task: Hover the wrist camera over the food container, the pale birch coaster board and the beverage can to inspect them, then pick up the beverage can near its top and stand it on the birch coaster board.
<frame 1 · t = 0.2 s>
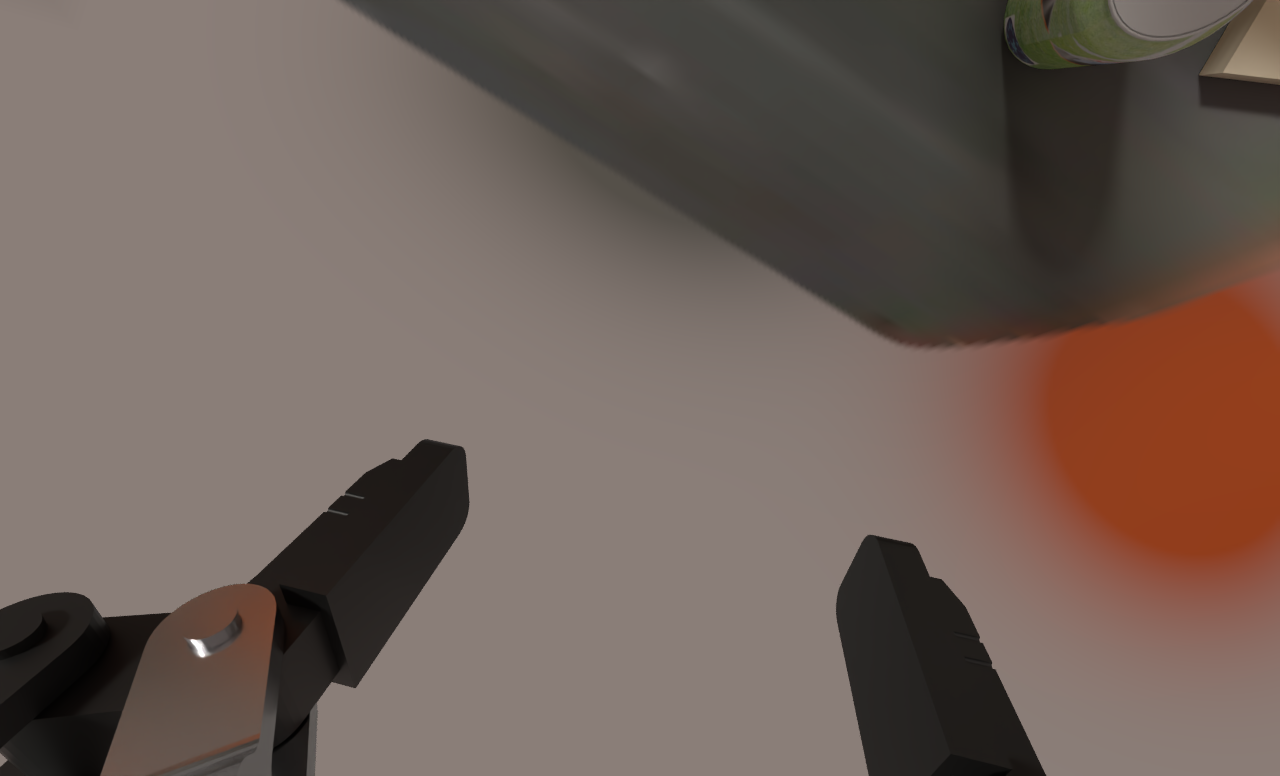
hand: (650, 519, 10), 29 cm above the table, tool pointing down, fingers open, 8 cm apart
beverage can: (1043, 11, 26), on the table
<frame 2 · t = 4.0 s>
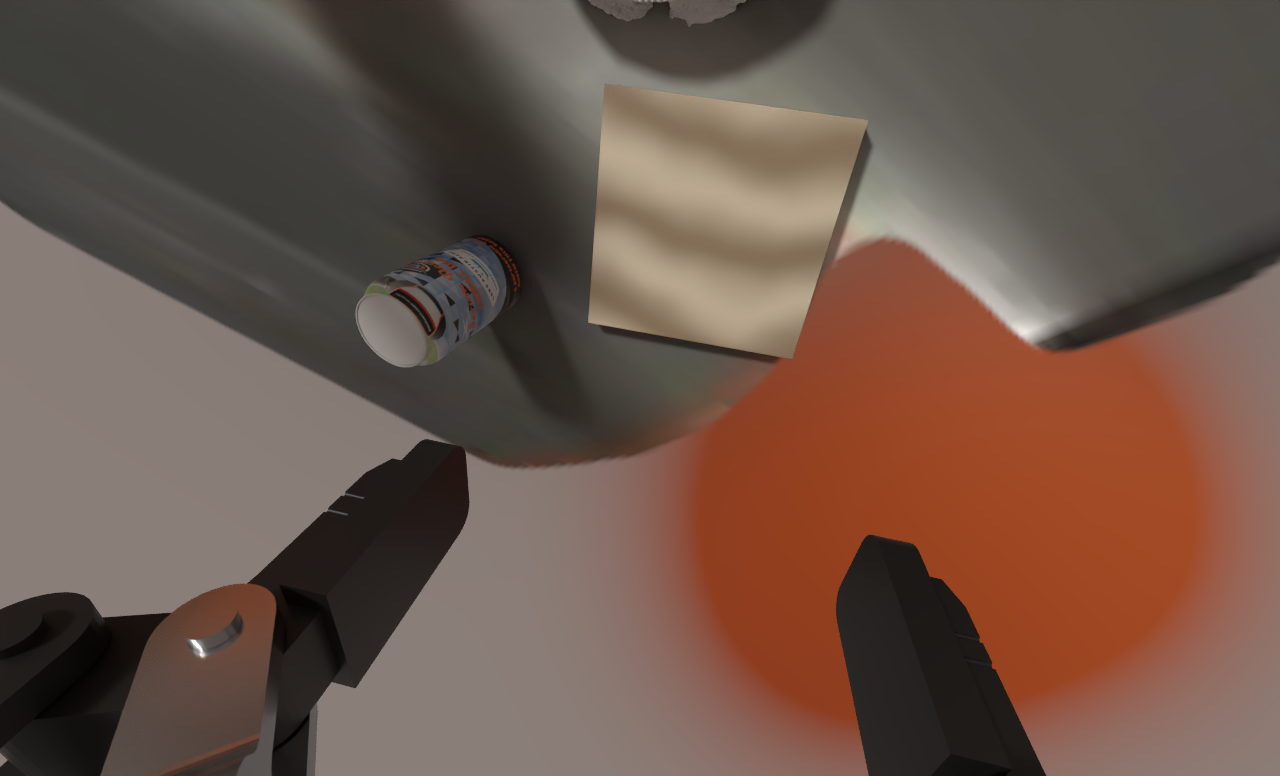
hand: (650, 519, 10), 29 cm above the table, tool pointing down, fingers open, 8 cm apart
coaster board: (709, 231, 34), on the table
beverage can: (487, 272, 39), on the table
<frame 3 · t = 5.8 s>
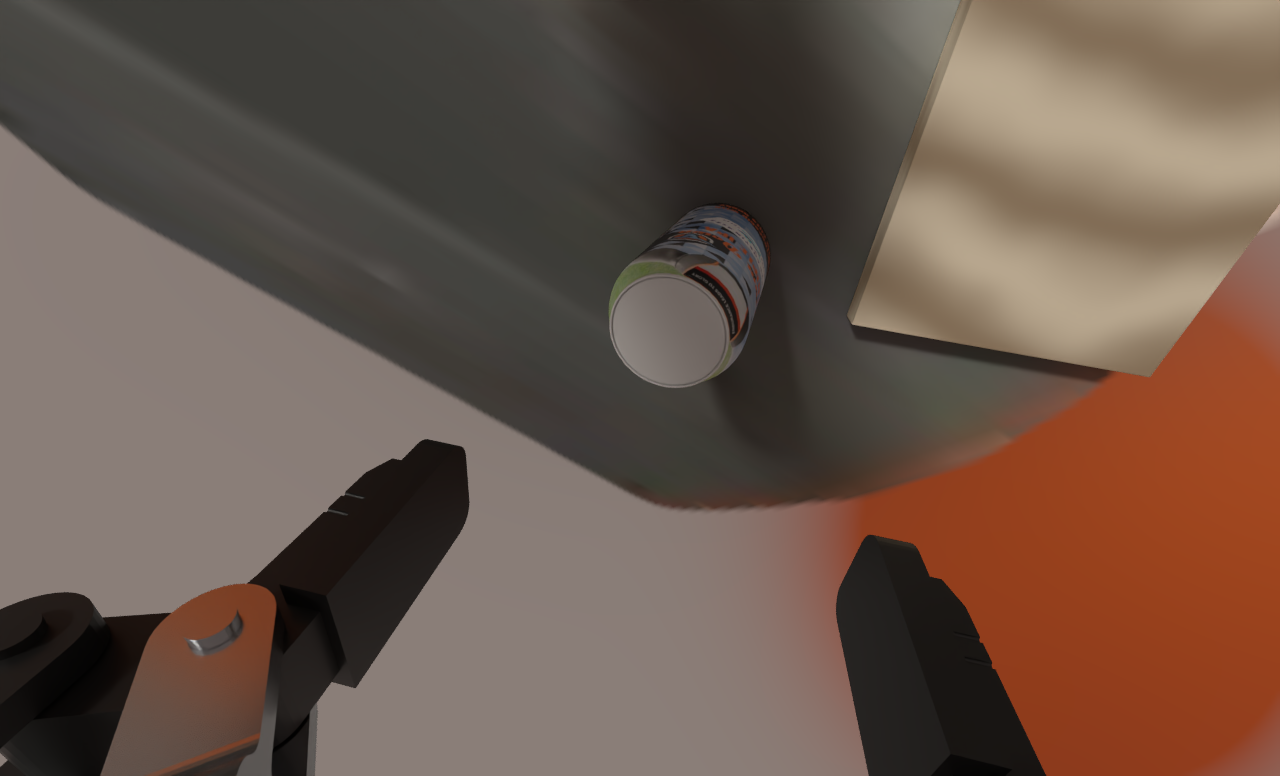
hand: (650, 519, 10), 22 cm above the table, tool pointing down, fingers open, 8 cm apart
coaster board: (1061, 195, 24), on the table
beverage can: (705, 256, 29), on the table
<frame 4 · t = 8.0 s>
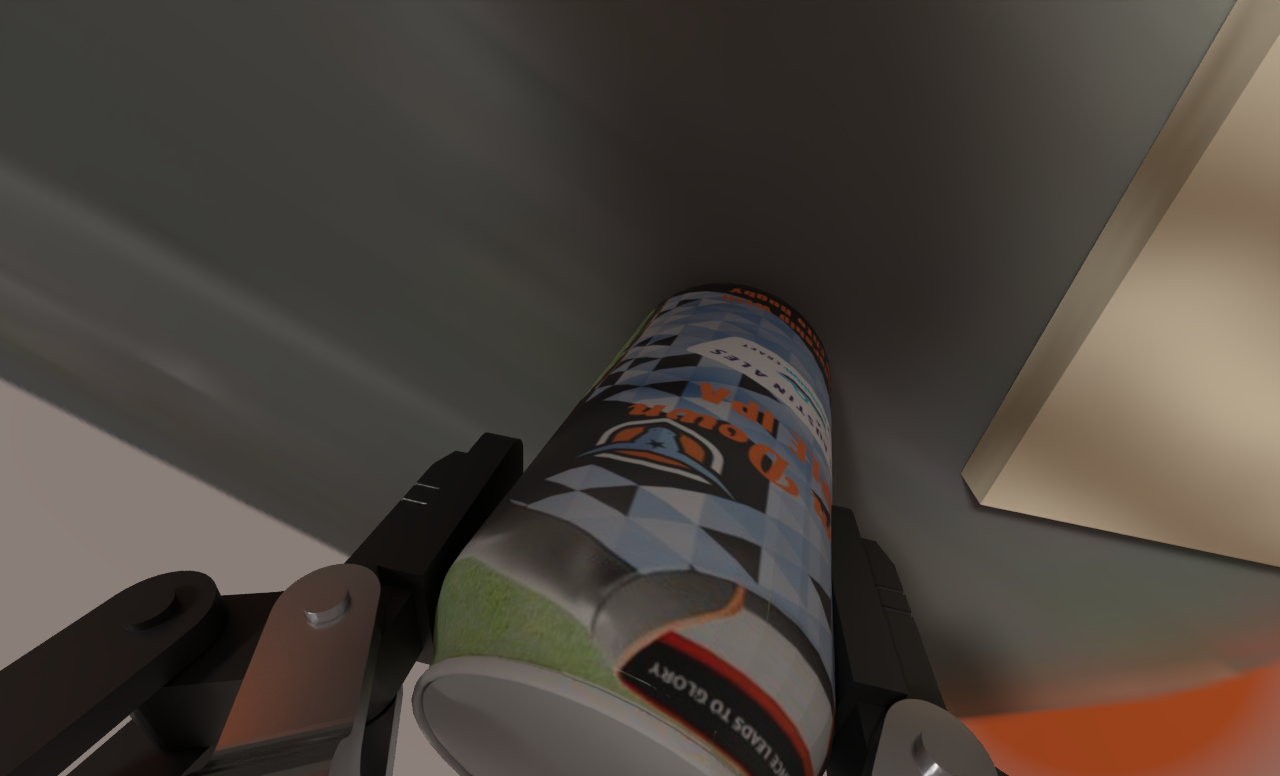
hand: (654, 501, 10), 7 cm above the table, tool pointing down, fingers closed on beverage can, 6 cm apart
beverage can: (703, 366, 16), on the table, touching gripper
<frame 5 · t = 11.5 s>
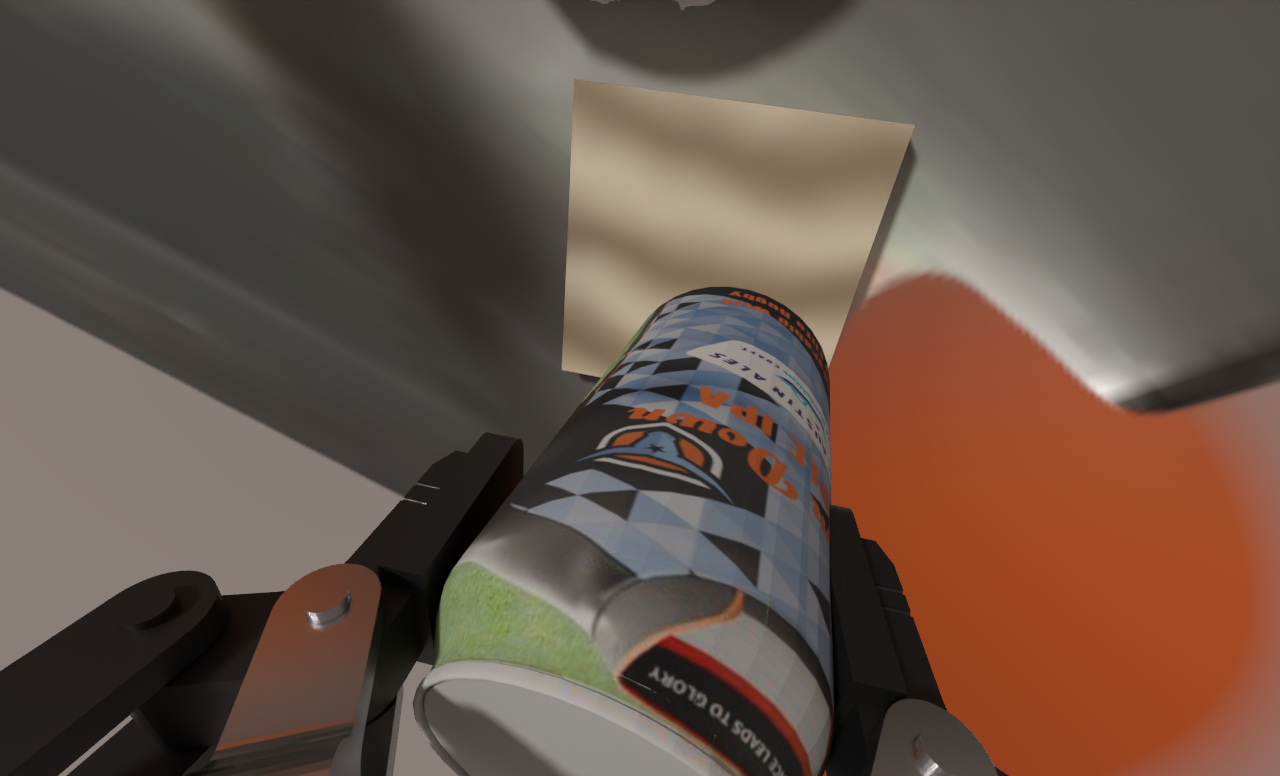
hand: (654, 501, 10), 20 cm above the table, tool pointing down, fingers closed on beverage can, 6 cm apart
coaster board: (708, 262, 28), on the table
beverage can: (703, 368, 16), point 14 cm above the table, touching gripper
when the fingers open (9 cm above the table, at t = 14.0 s): beverage can stays where it is, resting on coaster board.
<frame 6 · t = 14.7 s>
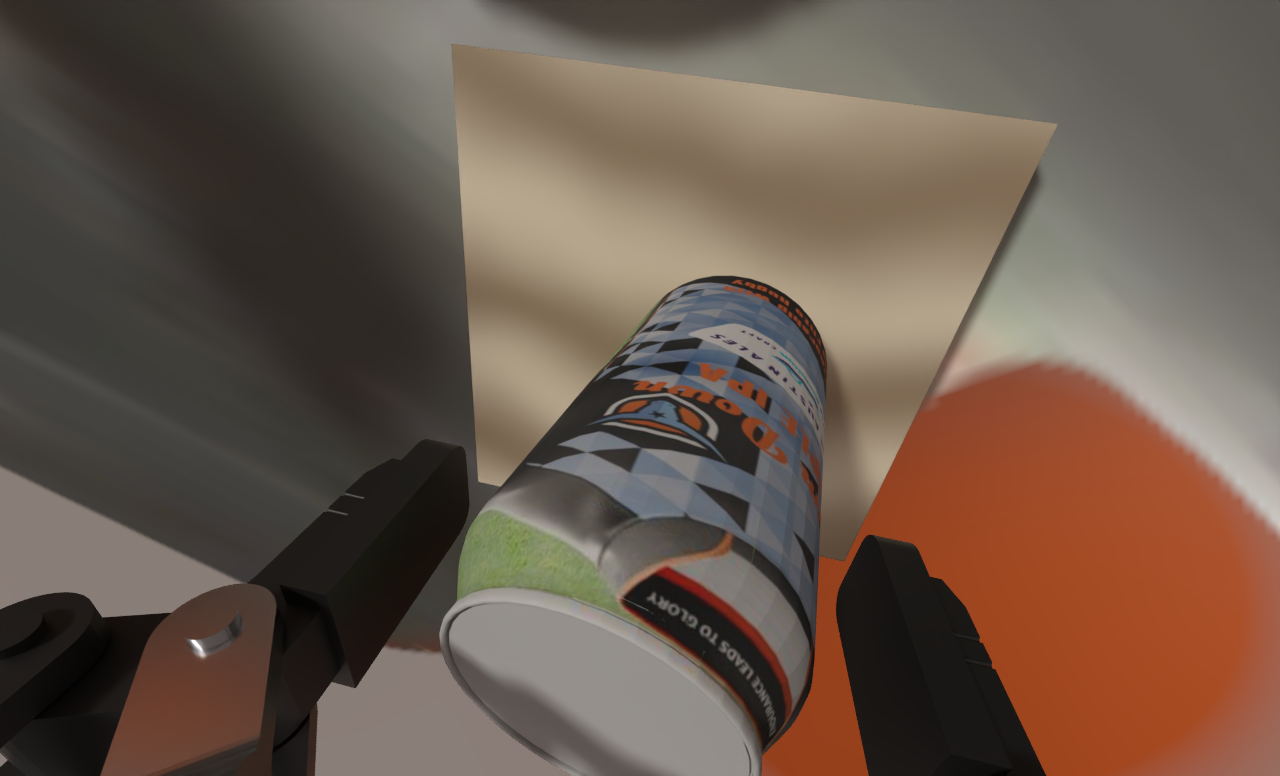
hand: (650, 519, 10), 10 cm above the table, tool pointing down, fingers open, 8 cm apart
coaster board: (689, 336, 18), on the table
beverage can: (707, 355, 17), point 1 cm above the table, touching coaster board
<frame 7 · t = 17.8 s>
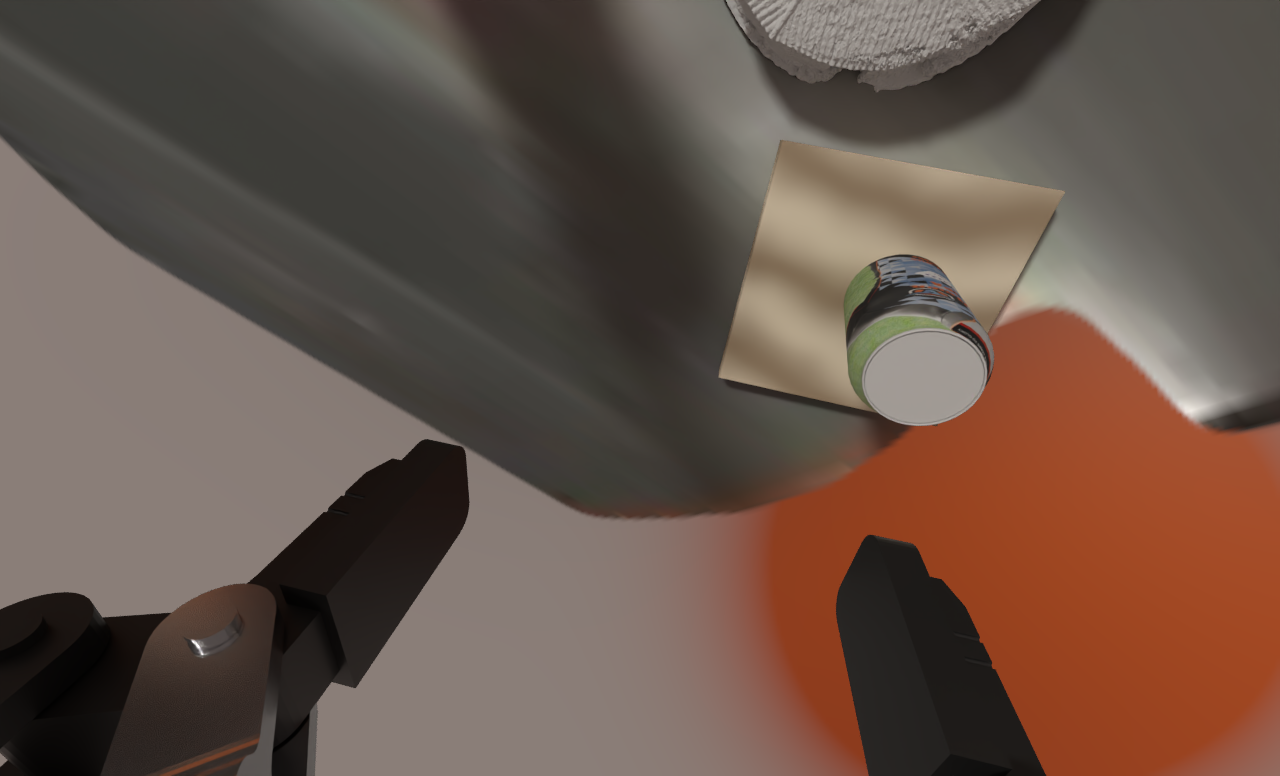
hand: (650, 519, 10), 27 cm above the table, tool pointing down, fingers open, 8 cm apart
coaster board: (862, 291, 33), on the table
beverage can: (877, 299, 32), point 1 cm above the table, touching coaster board
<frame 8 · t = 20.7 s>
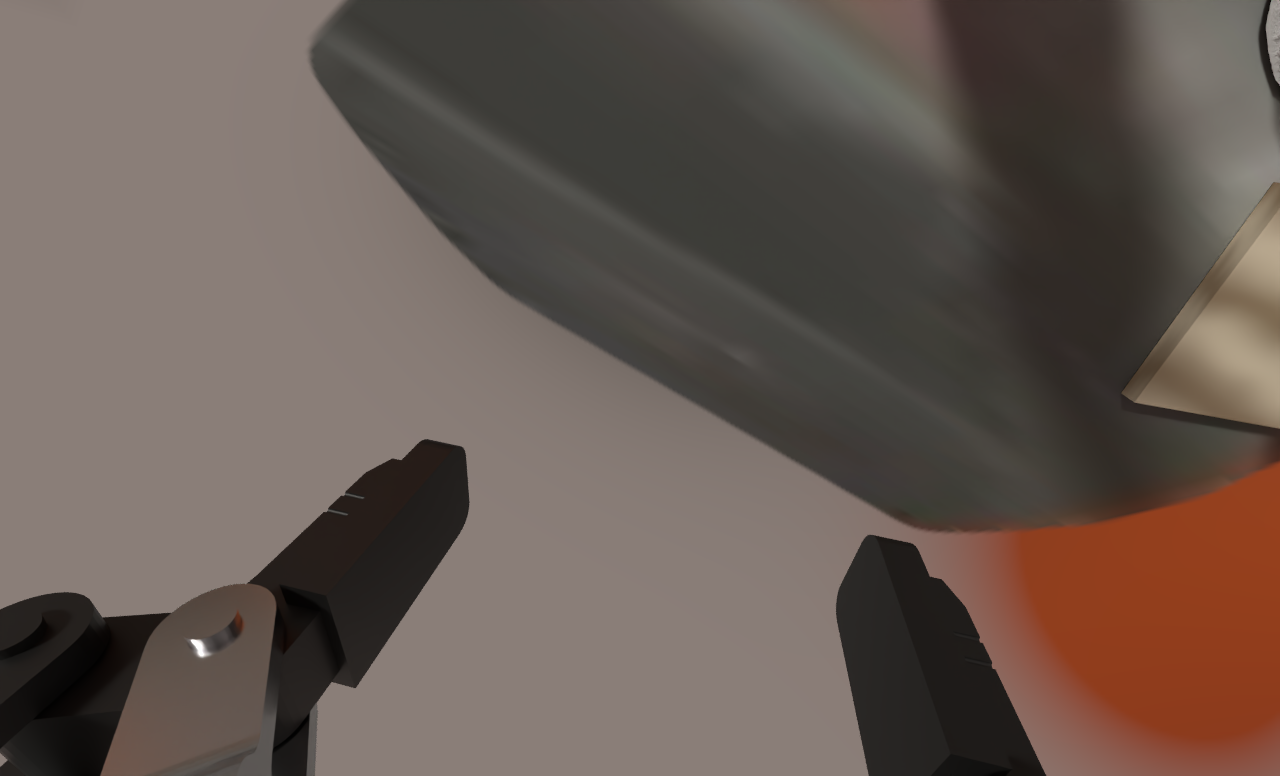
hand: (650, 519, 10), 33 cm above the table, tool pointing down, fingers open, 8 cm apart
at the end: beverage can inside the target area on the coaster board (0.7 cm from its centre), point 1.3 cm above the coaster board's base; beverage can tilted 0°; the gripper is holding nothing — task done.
